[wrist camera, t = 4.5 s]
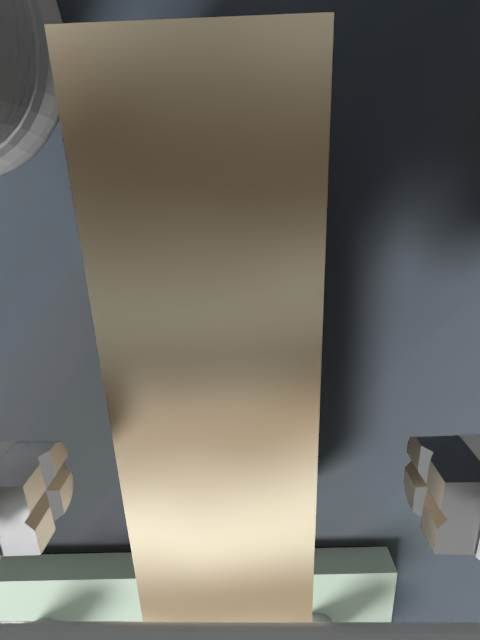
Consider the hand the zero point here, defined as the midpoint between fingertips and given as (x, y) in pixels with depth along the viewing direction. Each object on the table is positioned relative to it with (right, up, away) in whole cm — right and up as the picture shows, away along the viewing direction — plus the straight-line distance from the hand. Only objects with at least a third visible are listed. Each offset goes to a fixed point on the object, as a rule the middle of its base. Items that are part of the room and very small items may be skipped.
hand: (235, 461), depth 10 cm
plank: (-1, +2, +5) cm, 5 cm away
